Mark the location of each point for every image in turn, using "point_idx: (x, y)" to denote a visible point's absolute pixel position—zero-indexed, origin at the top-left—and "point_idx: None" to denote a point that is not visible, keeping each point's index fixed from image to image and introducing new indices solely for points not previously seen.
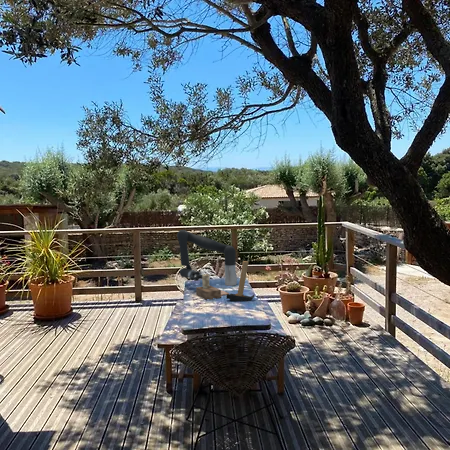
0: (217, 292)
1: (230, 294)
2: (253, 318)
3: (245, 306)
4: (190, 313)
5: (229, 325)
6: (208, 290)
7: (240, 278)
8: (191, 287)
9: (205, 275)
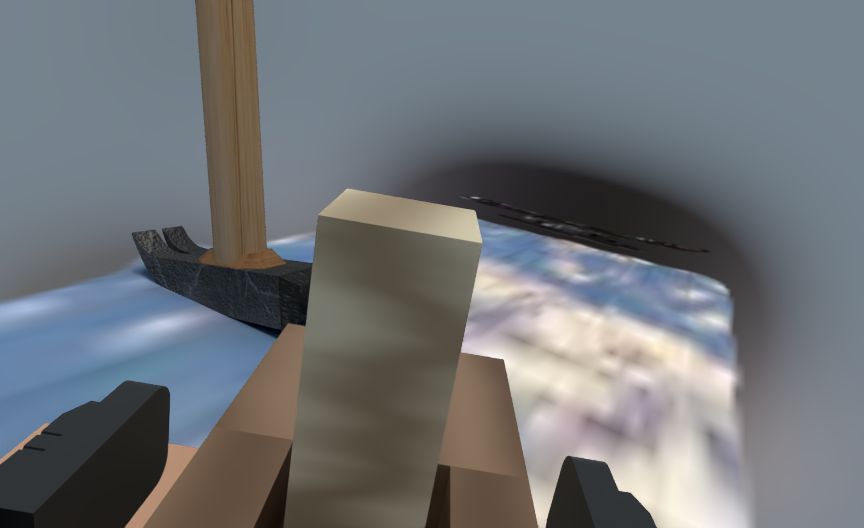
0: None
1: (304, 276)
2: None
3: None
4: (702, 340)
5: (551, 239)
6: None
7: (257, 99)
8: None
9: (447, 206)
